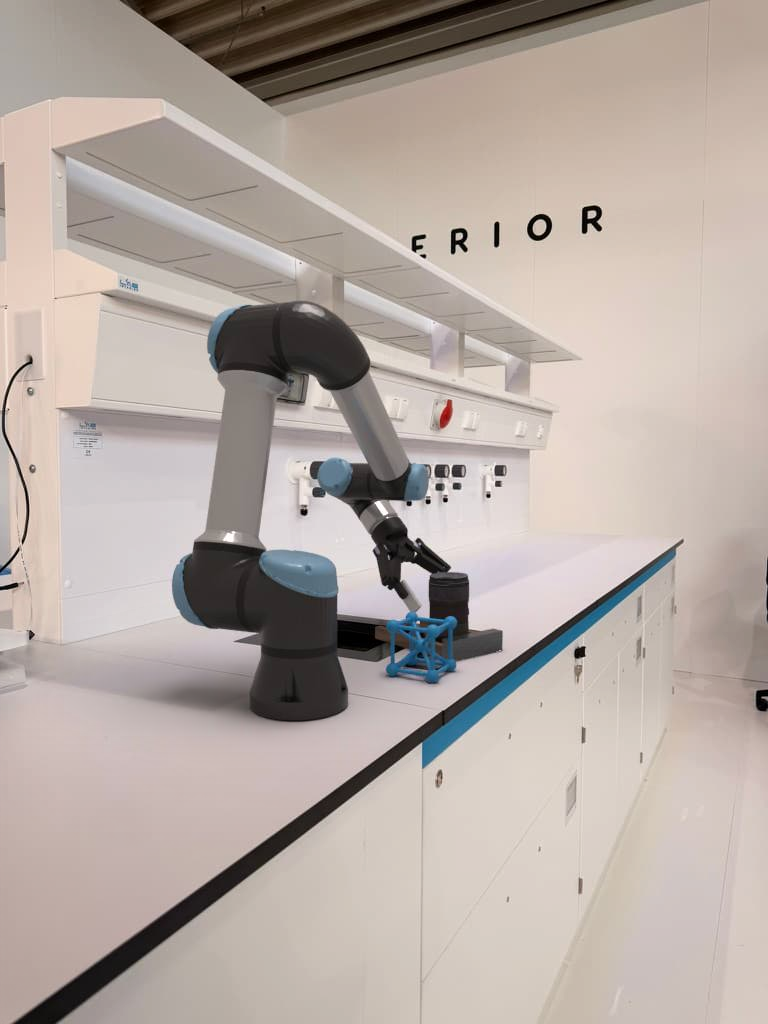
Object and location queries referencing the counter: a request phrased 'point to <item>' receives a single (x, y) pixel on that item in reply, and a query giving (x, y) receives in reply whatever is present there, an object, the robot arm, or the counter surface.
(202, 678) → the counter surface
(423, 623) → the guide rails
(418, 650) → the molecular structure
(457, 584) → the camera lens
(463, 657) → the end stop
